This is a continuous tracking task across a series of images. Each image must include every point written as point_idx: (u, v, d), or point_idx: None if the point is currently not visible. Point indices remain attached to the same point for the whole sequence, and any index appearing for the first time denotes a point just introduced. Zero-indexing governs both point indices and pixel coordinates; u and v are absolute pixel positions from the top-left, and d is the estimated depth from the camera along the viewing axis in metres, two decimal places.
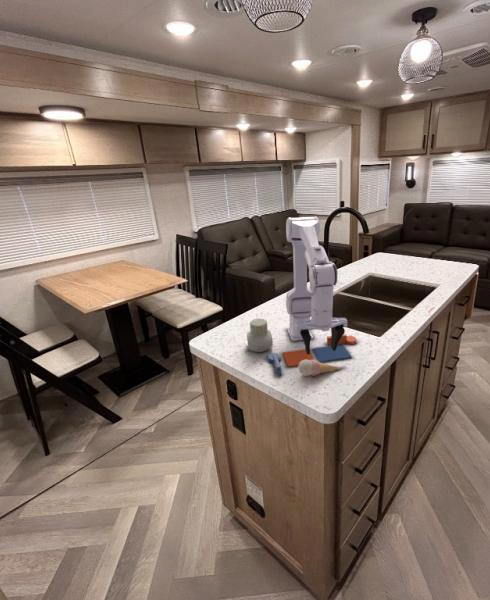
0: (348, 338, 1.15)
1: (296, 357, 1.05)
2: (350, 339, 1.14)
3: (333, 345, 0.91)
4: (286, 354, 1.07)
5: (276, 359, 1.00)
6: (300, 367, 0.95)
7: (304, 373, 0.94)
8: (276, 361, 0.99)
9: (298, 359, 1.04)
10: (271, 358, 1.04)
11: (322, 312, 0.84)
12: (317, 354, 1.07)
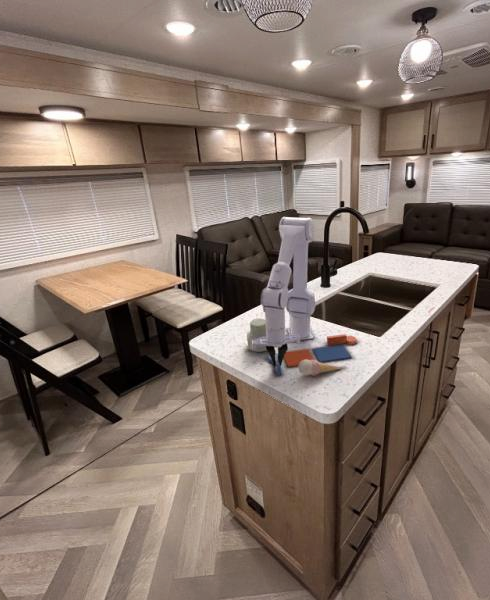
0: (348, 338, 1.15)
1: (296, 357, 1.05)
2: (350, 339, 1.14)
3: (279, 361, 0.99)
4: (286, 354, 1.07)
5: (276, 359, 1.00)
6: (300, 367, 0.95)
7: (304, 373, 0.94)
8: (276, 361, 0.99)
9: (298, 359, 1.04)
10: None
11: (274, 330, 0.92)
12: (317, 354, 1.07)
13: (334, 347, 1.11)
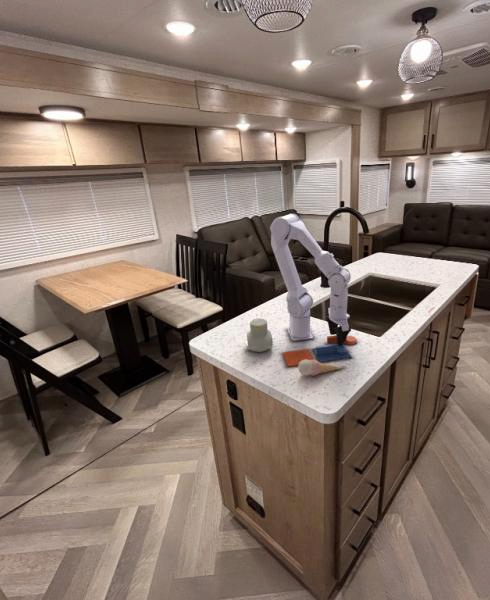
0: (348, 338, 1.15)
1: (296, 357, 1.05)
2: (350, 339, 1.14)
3: (335, 330, 1.16)
4: (286, 354, 1.07)
5: (328, 345, 1.06)
6: (300, 367, 0.95)
7: (304, 373, 0.94)
8: (324, 345, 1.06)
9: (298, 359, 1.04)
10: (337, 347, 1.09)
11: None
12: None
13: None
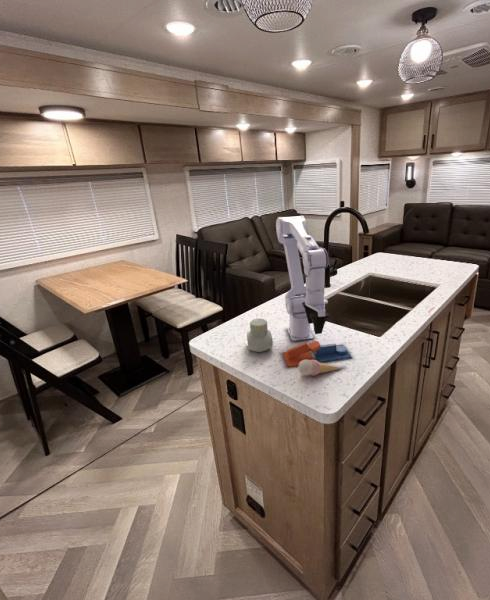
0: (311, 345, 1.05)
1: (296, 357, 1.05)
2: (313, 346, 1.04)
3: None
4: (286, 354, 1.07)
5: (328, 345, 1.06)
6: (300, 367, 0.95)
7: (304, 373, 0.94)
8: (324, 345, 1.06)
9: (298, 359, 1.04)
10: (337, 347, 1.09)
11: None
12: None
13: None
